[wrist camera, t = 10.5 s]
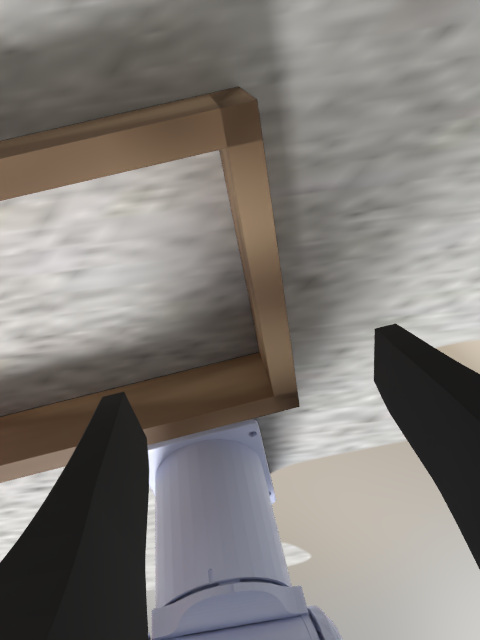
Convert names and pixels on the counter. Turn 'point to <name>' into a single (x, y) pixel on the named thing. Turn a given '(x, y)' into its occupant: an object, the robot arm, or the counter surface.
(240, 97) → the brown wooden frame
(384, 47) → the counter surface
